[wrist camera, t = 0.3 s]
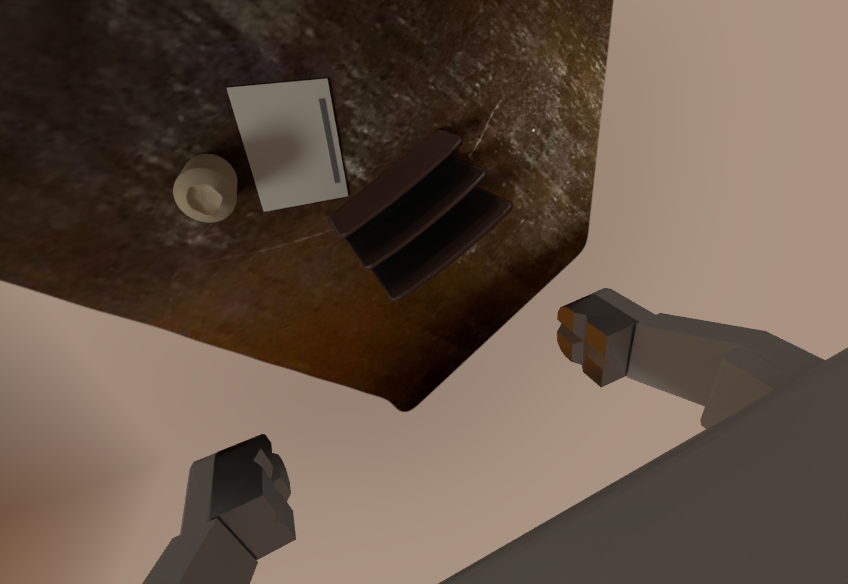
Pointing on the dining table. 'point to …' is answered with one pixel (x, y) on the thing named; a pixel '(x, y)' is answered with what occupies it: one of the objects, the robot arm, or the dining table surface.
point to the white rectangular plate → (290, 141)
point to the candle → (206, 188)
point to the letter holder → (419, 215)
